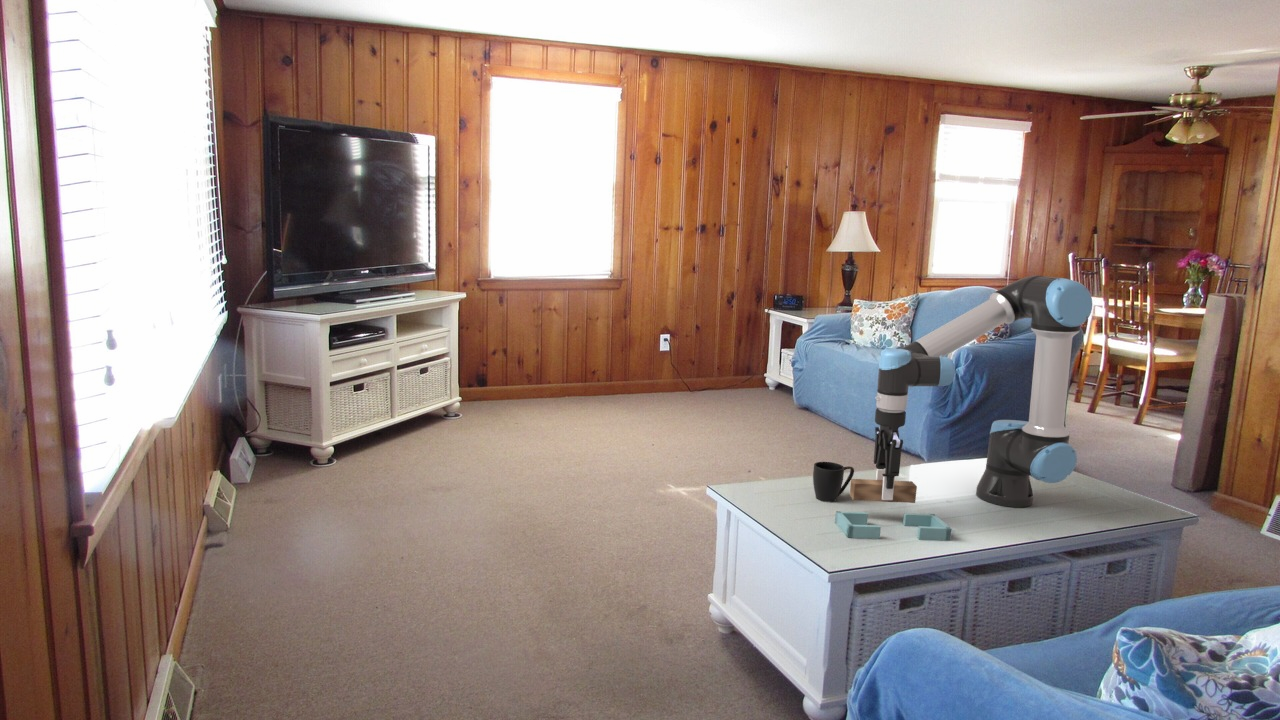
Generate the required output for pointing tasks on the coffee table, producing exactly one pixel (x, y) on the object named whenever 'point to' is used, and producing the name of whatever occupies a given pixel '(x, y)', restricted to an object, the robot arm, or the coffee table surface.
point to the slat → (873, 491)
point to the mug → (829, 480)
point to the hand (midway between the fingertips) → (883, 496)
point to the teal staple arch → (928, 526)
